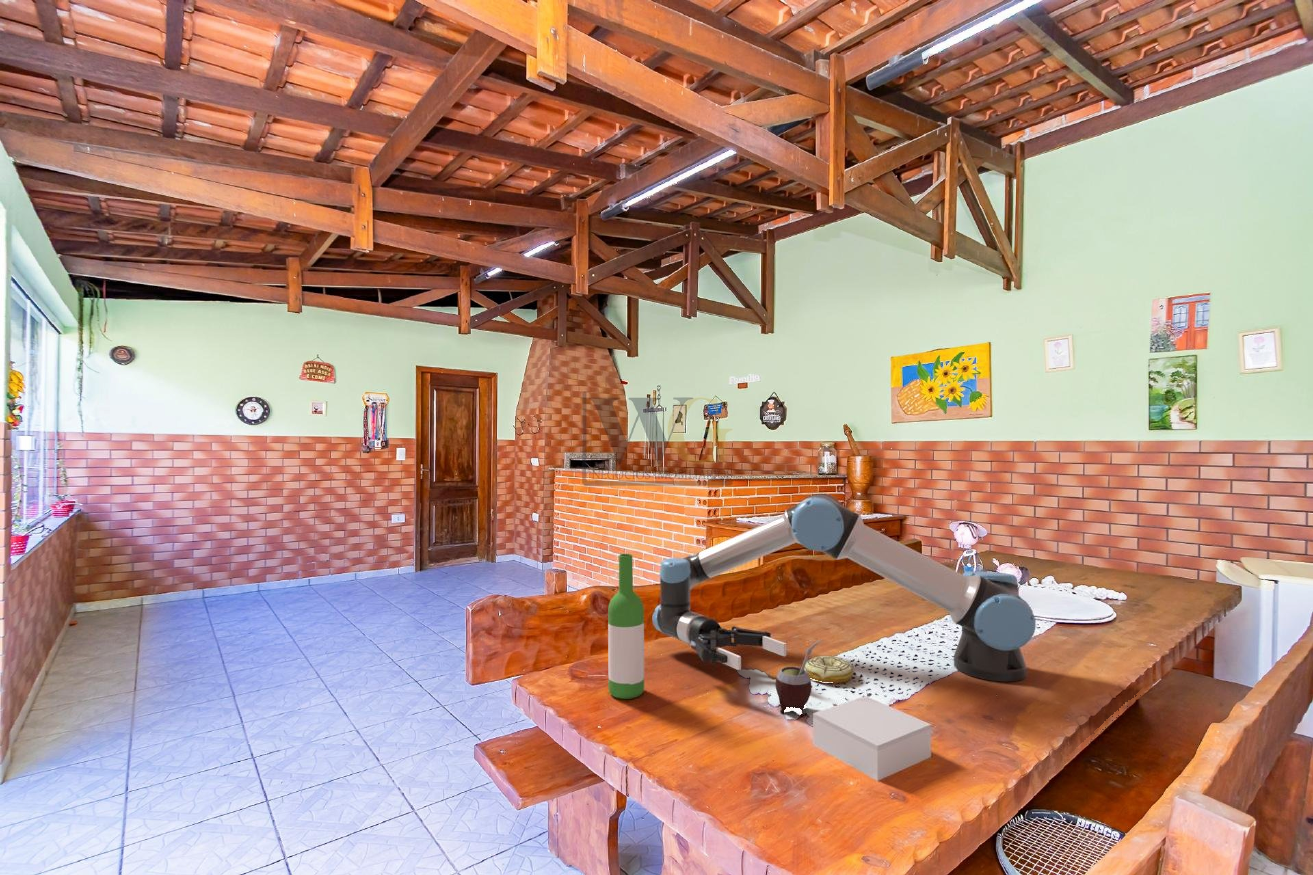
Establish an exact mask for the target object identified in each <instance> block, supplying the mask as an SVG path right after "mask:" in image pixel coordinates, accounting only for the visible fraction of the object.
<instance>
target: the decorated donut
mask: <svg viewBox="0 0 1313 875" xmlns="http://www.w3.org/2000/svg"><path fill="white" fill-rule="evenodd" d="M853 666H854V665H853V664H851V663H850V661H848V660H845V659H843V658H841V657H838V656H833V655H819V656H815V657H812V658H810V659H808V660H807V662H806V665H805V668H804V670H805V671H806V672H807V673H808V675H809V677H810V678H812V679H815V680H818V681H822V682H833V683H839V682H844V683H847V682H848V681H849V680H850V679H851V678H852V676H853V673H854V669H853V668H854V667H853ZM846 681H847V682H846ZM839 684H840V683H839Z"/></svg>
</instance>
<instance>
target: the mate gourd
mask: <svg viewBox="0 0 1313 875" xmlns="http://www.w3.org/2000/svg"><path fill="white" fill-rule="evenodd" d="M822 641H823V639H820V640H818V641H816V642H814V643H813V644H812V645H811V646H810V647H809V648H807V650H806V654H805V657H804V659H803V663H802V664H801V667H799V666H798V667H797V666H785V667H782V668H781V669H780V670H779V671H778V673H777V675H776V679H775V689H776V694H777V696H778V702H779V705H780V709H779V714H781V715H783V714H784V710H785V709H786V707H789V708H790V707H793V708H794V707H795V708H800V709H801V710H802V711H803V712H804V710H803V708H804V705H805V704H806V705H807V703H808V701H809V699H810V696H811V694H812V688H813V687H812V680H811V679H810V677H809V675H808V673H807V672H806V670H805V665H806V662H807V661H809V657H810V655H811V653H812V650H813V649H814V648H815V647H817V645H819V644H821V642H822ZM799 717H800V718H804V717H805V713H803V714H801V715H800V716H799Z"/></svg>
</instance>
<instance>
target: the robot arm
mask: <svg viewBox="0 0 1313 875" xmlns="http://www.w3.org/2000/svg"><path fill="white" fill-rule="evenodd" d="M796 543H797V544H800V545H801V546H803V547H804V548H806V549H808V550H811V551H815V552H822V553H824V554H825V555H828V556H829V557H831V558H834V559H835V560H837V561H838V560H841V559H842V560H843V559H849V560H850V561H852V562H855V563H856V564H858V565H860V566H862V567H864V568H865V569H867V570H870V571H871V572H873V573H876V574H877V575H879V576H880V577H882V578H885V579H887V580H889V581H890V582H893V583H894V584H896V585H898V586H900V587H902V588H904V589H905V590H907V591H909V592H911V593H912V594H915V595H916V596H919V597H920V598H922V599H924V600H926V601H928V602H930V603H932V604H933V605H935V606H938V607H940V608H941V609H943V610H945V611H947V612H948V614H950V615H949V616H950V617H951V620H952V622H953V623H955V624H957V625H958V626H961V635H960V637H959V641H958V643H957V645H956V649H955V651H954V655H953V666H954V667H955V669H956V670H958V671H959V672H961V673H963V674H965V675H967V676H970V677H972V678H973V677H974V678H977V679H980V680H987V681H991V682H992V681H993V682H1006V683H1007V682H1008V683H1009V682H1010V683H1011V682H1017V681H1022V680H1024V679H1025V678H1027V664H1026V660H1025V658H1024V656H1023V652H1022V649H1021V648H1023V647H1024V646H1026V645H1027V644H1028V643H1029V642H1030V641H1031V639H1032V638H1033V636H1034V634H1035V632H1036V627H1037V625H1036V617H1035V614H1034V611H1033V609H1032V607H1031V606H1030V604H1028V602H1027V601H1025V600H1024V599H1023V598H1022V597H1021V596H1020V595H1019V593H1018V588H1019V584H1018V579H1017V577H1016V575H1014V574H1011V573H1006V572H1005V573H1003V572H996V571H993V572H992V571H982V570H981V571H977V570H975V571H974V570H972V571H971V570H970V571H969V570H968V571H964V572H963V573H960V572H958V571H956V570H954V569H952V568H950V567H948V566H947V565H944V564H942V563H940V562H938V561H936V560H935V559H932V558H930V557H928V556H927V555H924V554H922V553H921V552H918V551H917V550H915V549H912V548H911V547H909V546H906V545H905V544H903V543H901V542H899V541H897V540H895V539H893V538H891V537H889V536H887V535H885V534H883V533H881V532H879V531H878V530H876V529H874V528H871V527H869V526H867V525H865V524H864V521H863V519H862V517H861V514H859V513H856V512H854V511H852V510H851V509H849V508H847V507H845V506H843V505H842V503H841V502H840V501H839V500H838V499H837V498H835V497H834V496H833V495H830V494H827V493H814V494H811V495H809V496H808V497H806V498H805V499H803V500H802V501H801V502H799V503H796V504H795V505H794V506H792V507H789V508H788V509H785V511H784V514H783V515H782V516H779V517H777V518H775V519H772V520H770V521H768V522H765V523H763V524H760V525H758V526H756V527H753V528H752V529H749V530H747V531H744V532H742V533H740V534H738V535H736V536H733V537H731V538H729V539H727V540H724V541H722V542H720V543H717V544H714V545H713V546H711V547H708V548H706V549H704V550H702V551H699V552H697V553H695V554H693V555H687V556H686V557H683V558H680V557H679V558H678V557H672V558H666V559H663V560H662V561H661V563H660V572H659V578H660V582H659V583H660V604H659V605H658V604H657V606H656V607H655V609H654V612H653V614H652V619H651V620H652V624H653V626H654V628H655V629H656V630H657V631H659V632H661V633H662V634H664V635H665V636H667V637H671V638H674V639H676V640H678V641H681V642H683V643H686V644H688V645H690V647H691V649H693V650H694V651H695V652H696V653H697V655H698V656H699V658H700V659H701V661H702V662H703V663H706V662H707V663H708V662H709V660H710V664H711V665H717V662H719V663H721V664H723V665H725V666H729V668H732V669H735V670H737V671H739V670H742V657H741V656H740V655H738V654H735V653H734V652H731V651H729V650H726V649H724V648H723V647H737V646H738V645H740V646H752V647H762V649H764V650H766V651H768V652H771V653H774V654H777V655H779V656H782V657H787V643H786V642H783V641H782V640H781V641H780V640H778V639H776V638H775V639H774V638H772V637H771V636H772V634H771V632H770V631H769V632H767V631H763V630H762V631H760V630H753V629H749V628H747V629H746V628H741V627H737V626H731V629H727V628H723V627H721V625H720V623H719V622H718V621H717V620H716V619H713V618H711V617H708V616H706V615H703V614H699V613H697V612H694V611H692V610H691V590H692V589H693V588H694V587H695V586H696V585H699V584H700V583H704V582H705V581H708V580H710V579H712V578H715V577H716V576H719V575H721V574H723V573H725V572H729V571H731V570H734V569H735V568H737V567H738V568H739V567H740V566H743V565H745V564H748V563H749V562H750V563H751V562H752V561H755V560H758V559H760V558H762V557H765V556H767V555H770V554H772V553H774V552H777V551H779V550H782V549H783V548H786V547H789V546H791V545H793V544H796ZM732 639H733V640H732ZM732 641H733V642H732Z"/></svg>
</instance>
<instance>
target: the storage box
mask: <svg viewBox="0 0 1313 875" xmlns="http://www.w3.org/2000/svg"><path fill="white" fill-rule="evenodd" d="M812 721H813V722H812V737H813V738H812V740H813V741H812V742H813V743H812V745H813V746H815V747H816V748H818V749H820V750H821V751H823V752H825V753H827V754H829V755H830V756H832V757H833V758H835V759H837V760H839V761H841V762H843V763H845V764H847V765H849V767H850V766H851V767H852V768H854V769H855V770H857V771H860V772H861V773H862V774H865V775H866V776H868V777H870V778H872V779H873V780H875V781H877V782H879V781H881V780H883V779H885V778H888V777H889V776H892V775H894V774H897V773H899V772H901V771H903V770H905V769H908V768H910V767H912V766H914V765H917V764H919V763H921V762H923V761H926V760H927V759H930V758H931V757H932V724H931V723H929V722H927V721H924V720H922V719H919V718H917V717H915V716H913V715H910V714H908V713H905V712H903V711H901V710H899V709H896V708H895V707H892V706H890V705H887V704H885V703H882V702H881V701H878V700H875V699H873V698H871V697H869V696H867V695H864V696H861V697H858V698H856V699H851V700H849V701H847V702H843V703H840V704H837V705H834V706H831V707H829V708H825V709H822V710H818V711H816V712H813V713H812Z"/></svg>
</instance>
